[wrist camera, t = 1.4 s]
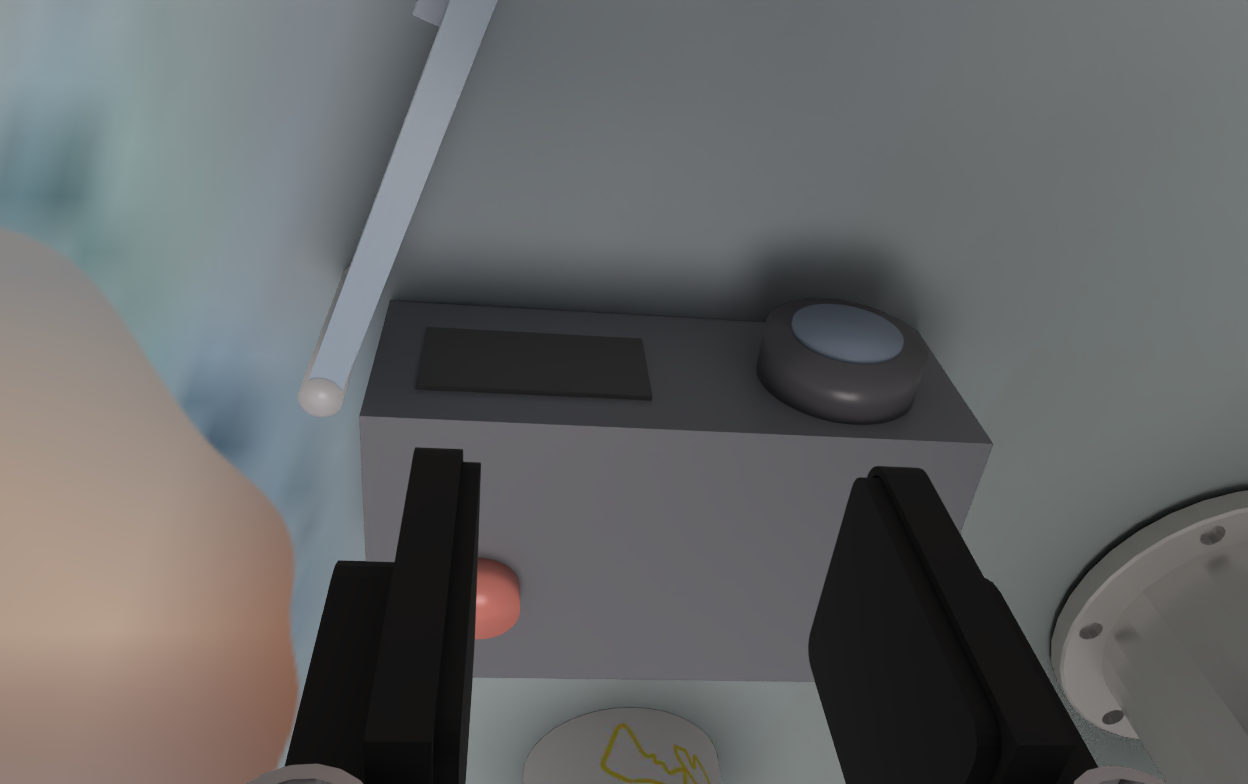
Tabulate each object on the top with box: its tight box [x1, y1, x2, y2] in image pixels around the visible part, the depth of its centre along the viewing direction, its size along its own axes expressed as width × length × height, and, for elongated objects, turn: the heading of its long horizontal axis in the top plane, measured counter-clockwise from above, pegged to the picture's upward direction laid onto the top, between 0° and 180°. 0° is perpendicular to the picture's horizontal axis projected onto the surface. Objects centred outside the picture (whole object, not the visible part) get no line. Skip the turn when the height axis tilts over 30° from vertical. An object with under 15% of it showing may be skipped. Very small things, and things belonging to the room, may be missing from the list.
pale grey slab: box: [298, 0, 498, 417], centre depth 23 cm, size 10×2×6 cm, turn 154°
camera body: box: [359, 299, 993, 682], centre depth 29 cm, size 16×11×7 cm, turn 84°
